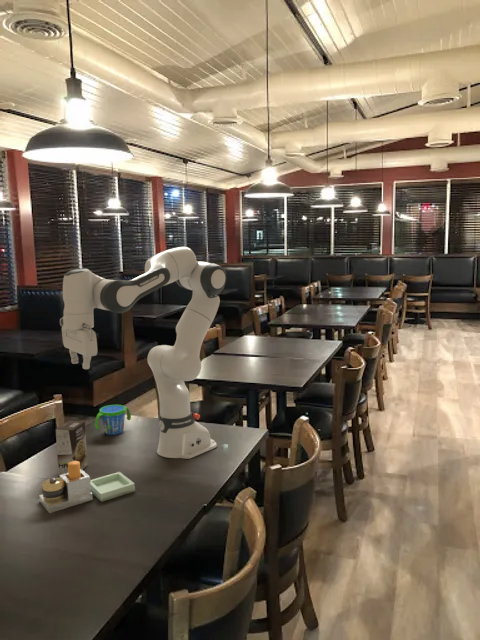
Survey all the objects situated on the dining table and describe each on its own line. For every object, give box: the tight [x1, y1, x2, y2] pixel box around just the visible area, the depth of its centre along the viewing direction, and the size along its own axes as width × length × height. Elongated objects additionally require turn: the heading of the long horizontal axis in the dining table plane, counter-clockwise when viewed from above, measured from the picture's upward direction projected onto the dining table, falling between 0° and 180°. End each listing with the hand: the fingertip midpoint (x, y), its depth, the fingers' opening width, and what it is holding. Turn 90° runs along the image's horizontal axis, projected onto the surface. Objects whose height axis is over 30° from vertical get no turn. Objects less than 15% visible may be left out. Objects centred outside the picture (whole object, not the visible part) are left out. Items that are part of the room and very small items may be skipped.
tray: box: [90, 471, 136, 502], centre depth 167 cm, size 11×11×2 cm
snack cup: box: [94, 404, 132, 436], centre depth 217 cm, size 16×10×10 cm
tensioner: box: [38, 469, 94, 514], centre depth 160 cm, size 13×9×8 cm
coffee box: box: [55, 420, 88, 476], centre depth 181 cm, size 9×6×16 cm
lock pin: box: [68, 461, 81, 480], centre depth 162 cm, size 4×4×9 cm
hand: (80, 366), depth 166 cm, fingers open, 8 cm apart
